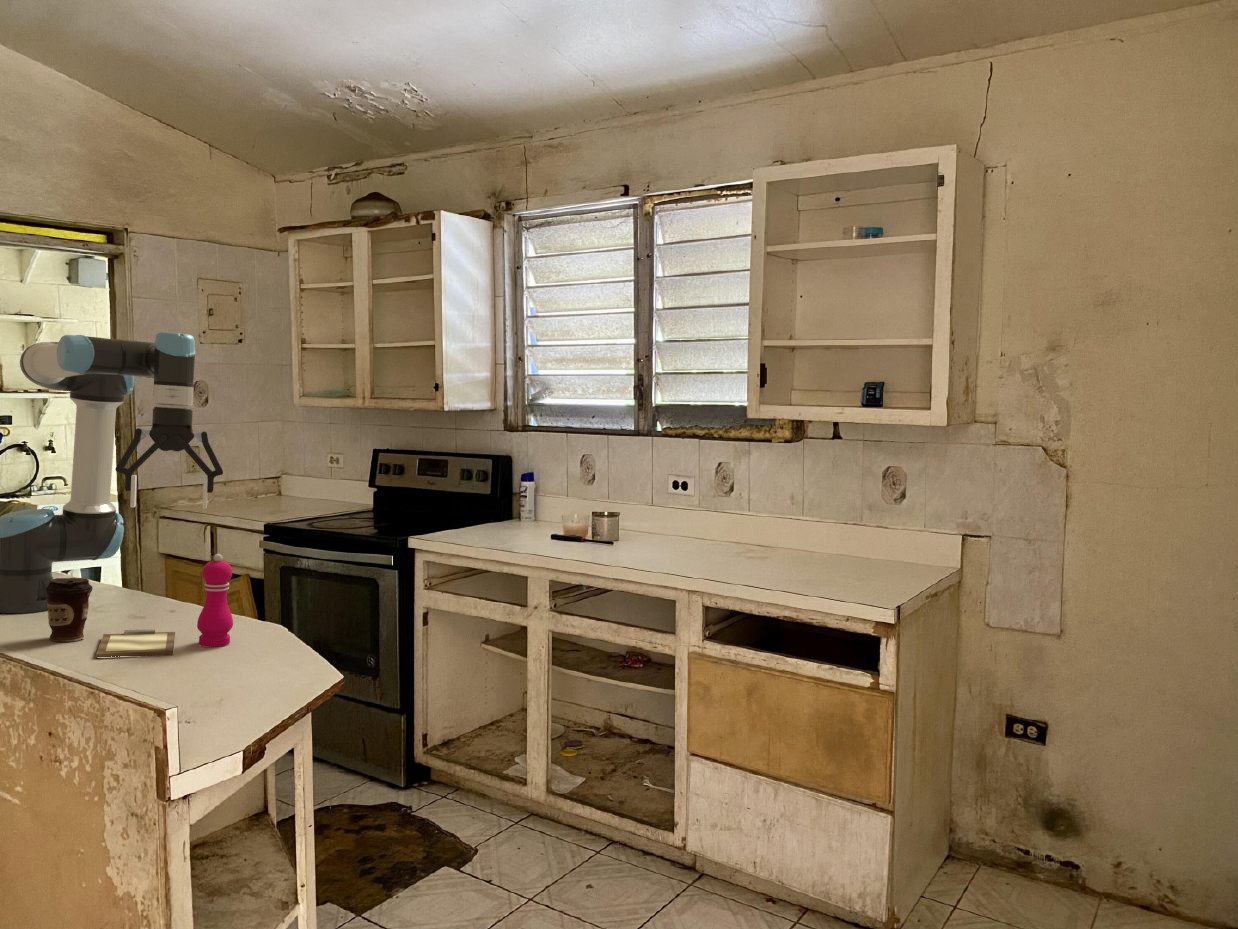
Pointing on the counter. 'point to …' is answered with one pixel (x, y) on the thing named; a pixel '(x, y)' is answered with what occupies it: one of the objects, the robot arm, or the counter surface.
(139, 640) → the clipboard
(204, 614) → the pepper mill
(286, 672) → the counter surface
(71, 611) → the coffee cup
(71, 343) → the robot arm
